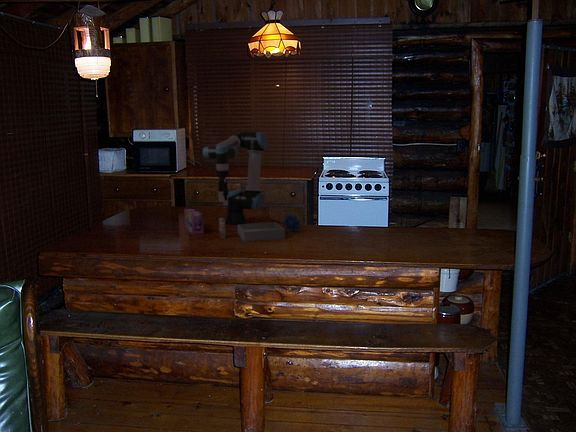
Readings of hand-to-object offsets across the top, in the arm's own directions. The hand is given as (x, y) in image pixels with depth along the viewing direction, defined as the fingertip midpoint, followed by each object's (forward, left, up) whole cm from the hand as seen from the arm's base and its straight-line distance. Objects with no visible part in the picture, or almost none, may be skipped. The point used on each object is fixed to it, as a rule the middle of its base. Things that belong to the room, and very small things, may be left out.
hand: (223, 203), depth 364 cm
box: (+5, +23, -22) cm, 32 cm away
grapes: (+1, +45, -22) cm, 50 cm away
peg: (0, -1, -22) cm, 22 cm away
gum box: (-25, -16, -22) cm, 37 cm away
